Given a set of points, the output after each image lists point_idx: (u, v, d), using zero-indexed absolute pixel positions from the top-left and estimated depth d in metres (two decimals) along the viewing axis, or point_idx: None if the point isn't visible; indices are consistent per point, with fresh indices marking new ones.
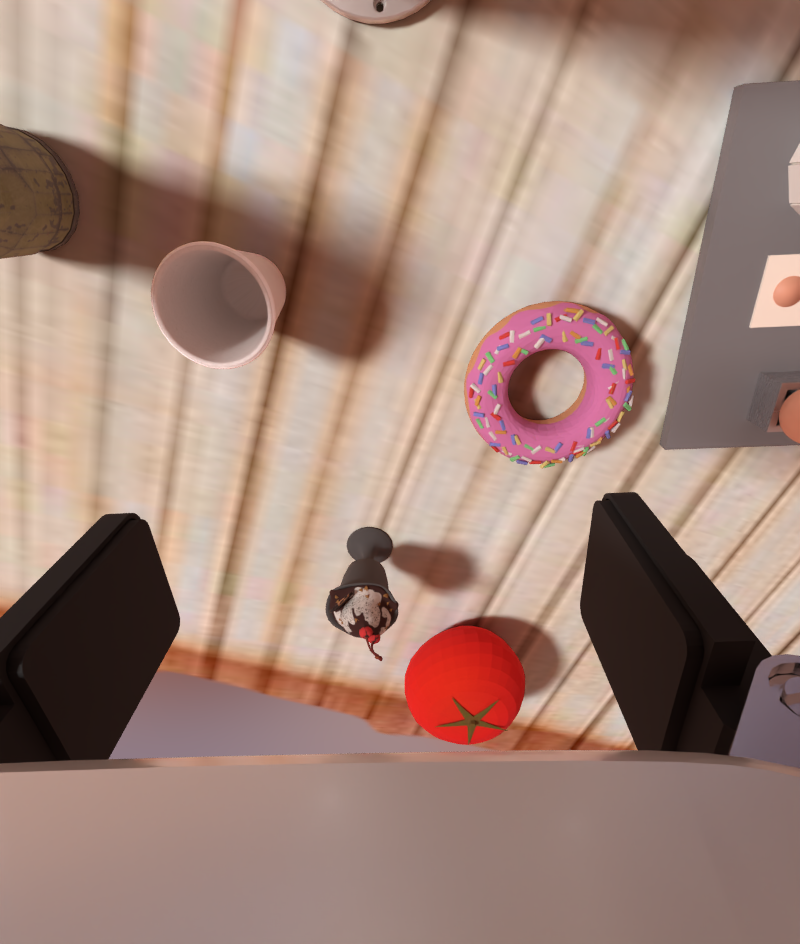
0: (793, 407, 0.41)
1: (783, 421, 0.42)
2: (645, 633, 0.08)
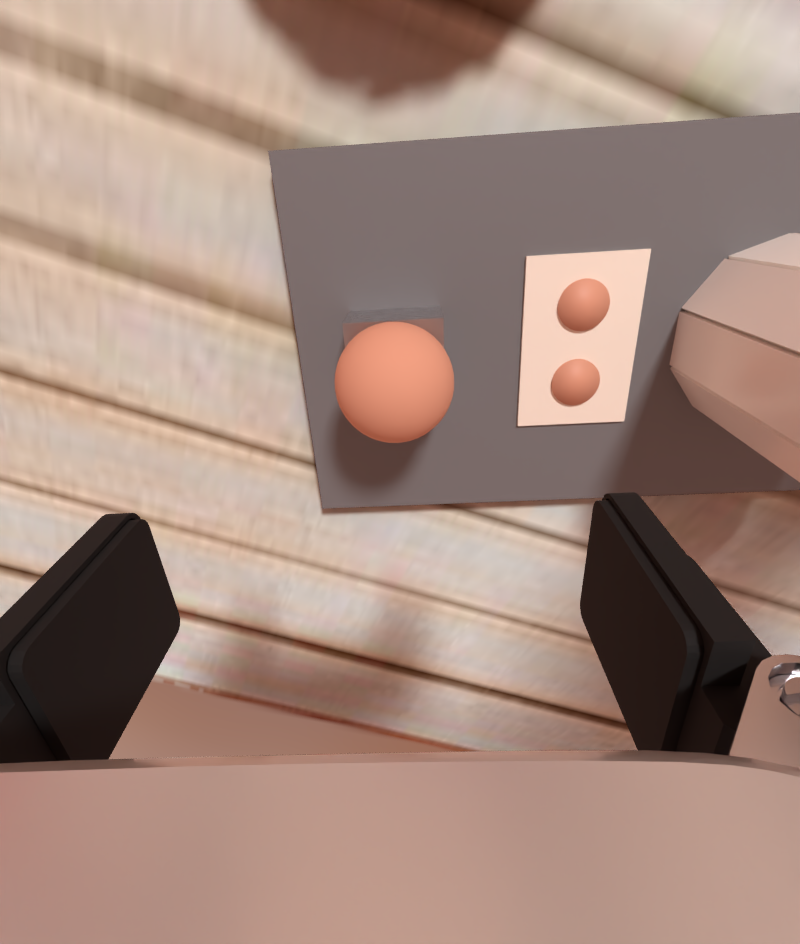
0: (412, 327, 0.20)
1: (378, 324, 0.20)
2: (645, 633, 0.08)
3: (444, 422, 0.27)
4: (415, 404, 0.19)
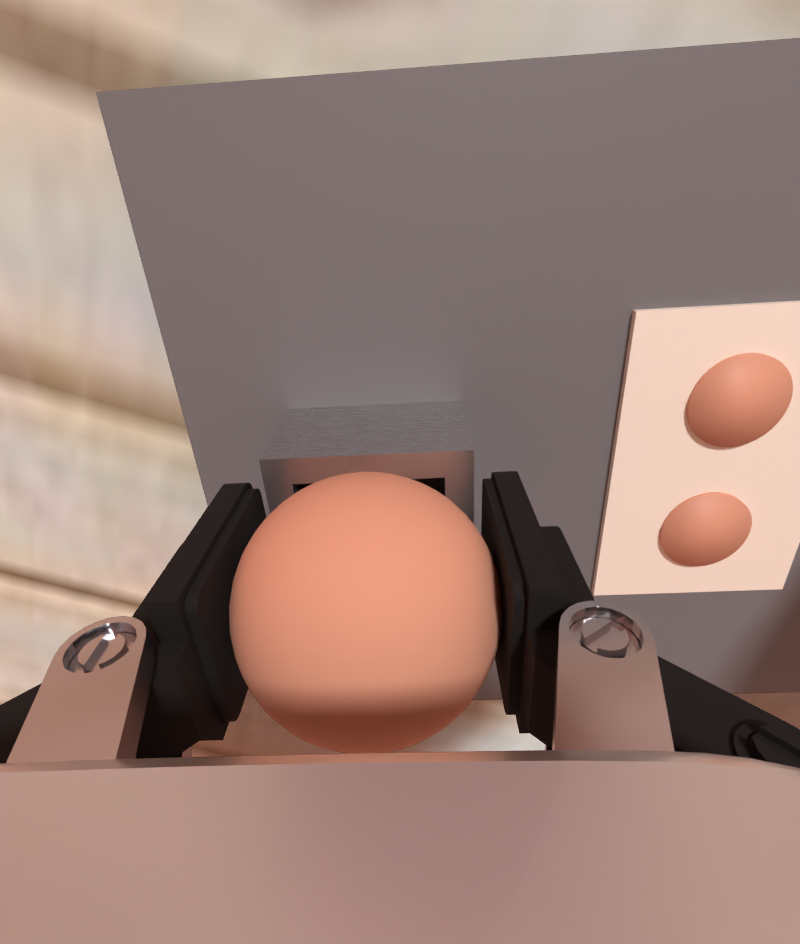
0: (408, 503, 0.08)
1: (328, 488, 0.09)
2: (501, 590, 0.09)
3: None
4: (415, 716, 0.08)
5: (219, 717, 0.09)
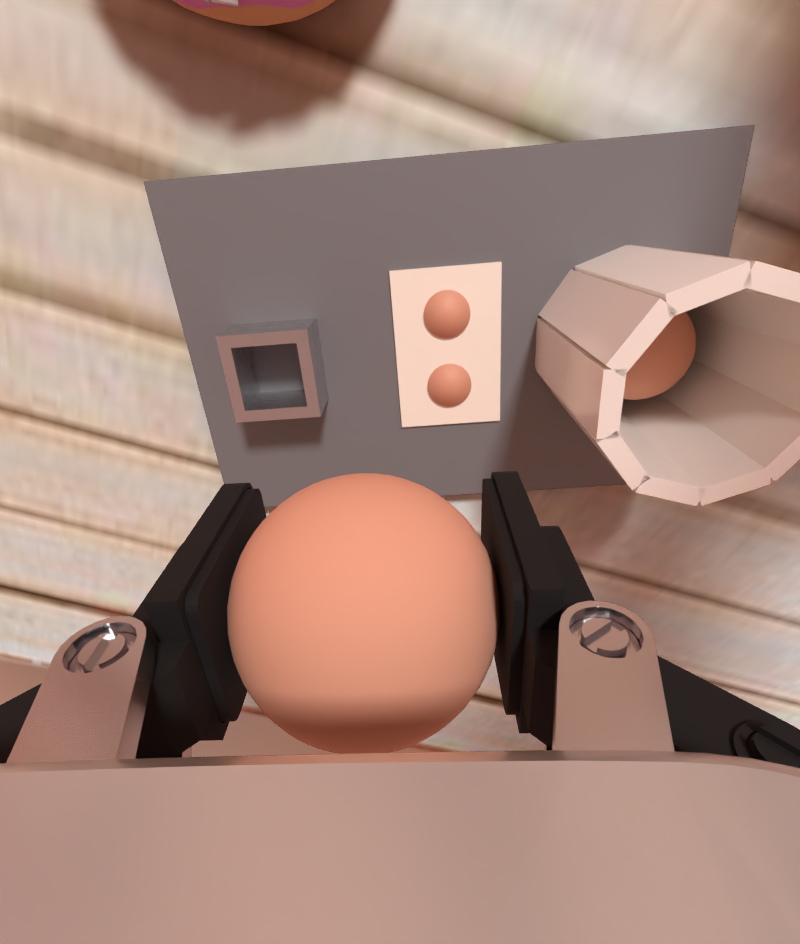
0: (405, 505, 0.08)
1: (326, 490, 0.09)
2: (501, 591, 0.09)
3: (334, 425, 0.29)
4: (412, 717, 0.08)
5: (219, 717, 0.09)
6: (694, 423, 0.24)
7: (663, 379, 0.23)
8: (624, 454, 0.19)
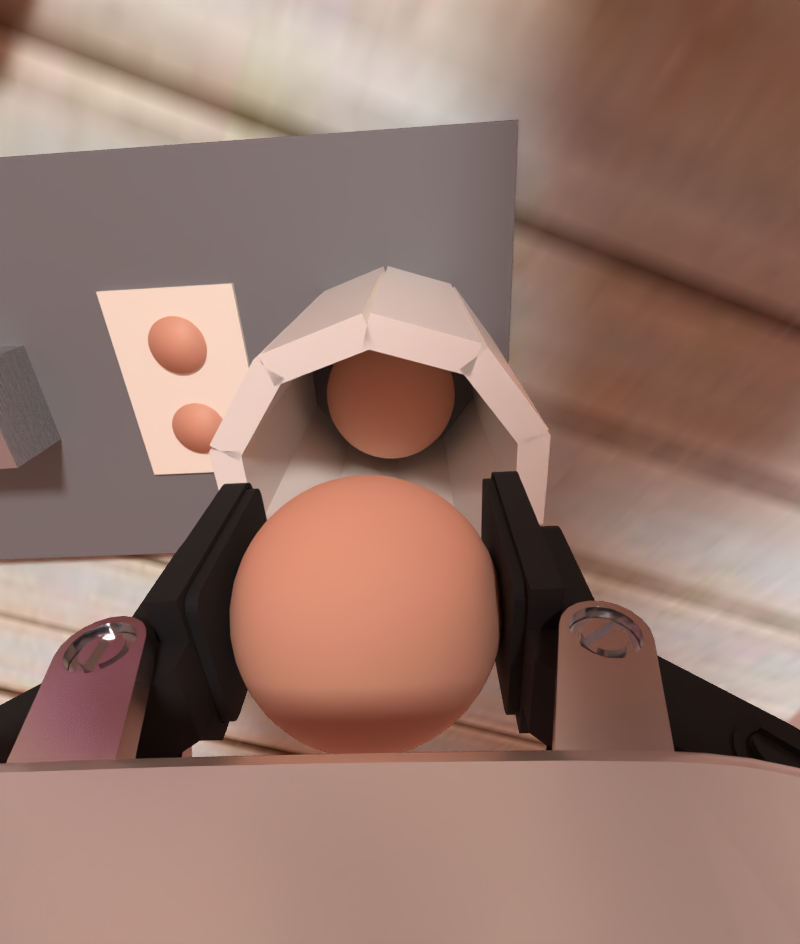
0: (408, 507, 0.08)
1: (328, 492, 0.09)
2: (501, 590, 0.09)
3: (76, 469, 0.25)
4: (415, 719, 0.08)
5: (219, 717, 0.09)
6: (446, 493, 0.19)
7: (402, 439, 0.18)
8: None
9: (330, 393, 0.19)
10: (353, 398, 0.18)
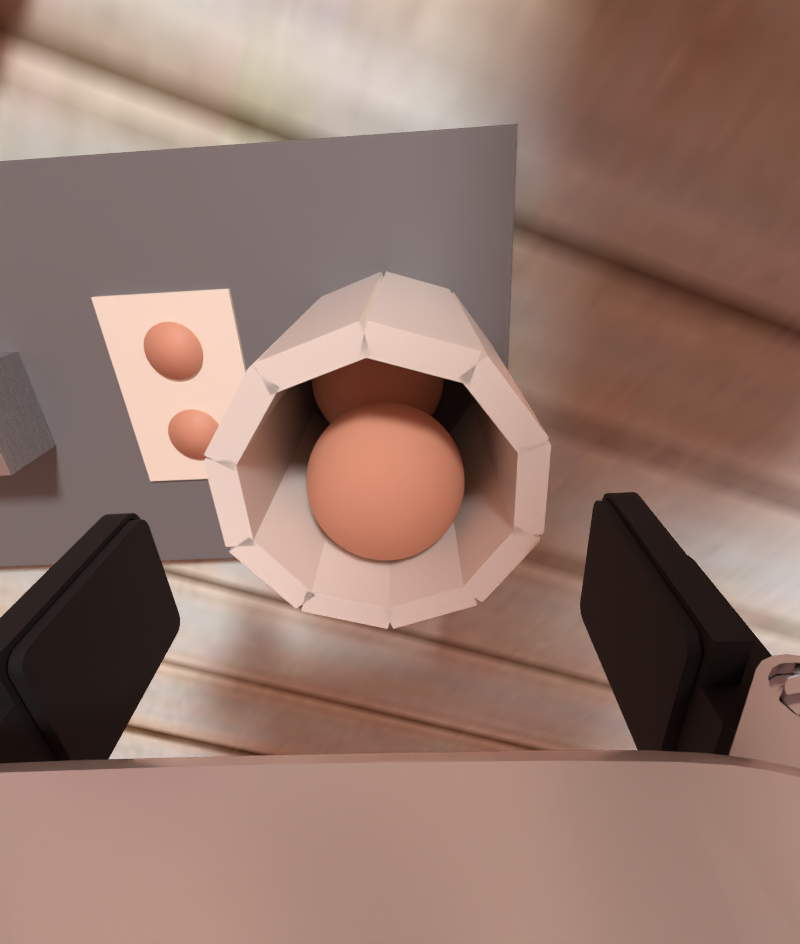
0: (423, 486, 0.14)
1: (371, 486, 0.14)
2: (645, 633, 0.08)
3: (71, 476, 0.24)
4: None
5: None
6: None
7: (376, 400, 0.17)
8: (270, 565, 0.14)
9: None
10: None
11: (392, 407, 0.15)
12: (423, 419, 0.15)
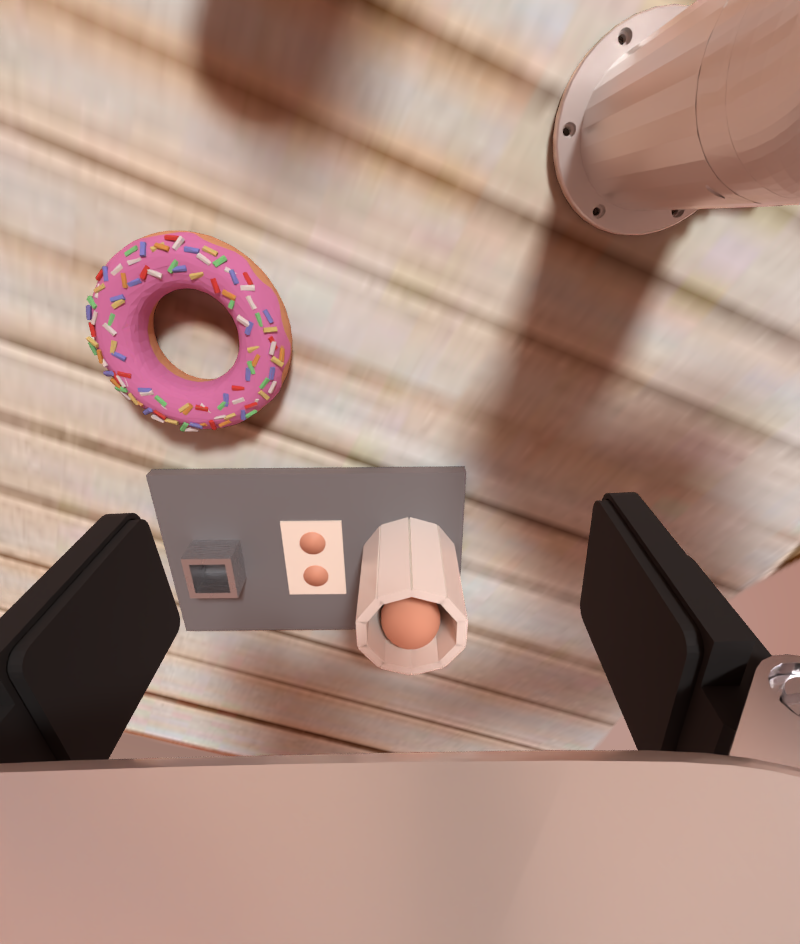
0: (426, 627, 0.40)
1: (408, 627, 0.40)
2: (645, 633, 0.08)
3: (250, 590, 0.50)
4: None
5: None
6: None
7: None
8: (371, 653, 0.40)
9: None
10: None
11: None
12: None
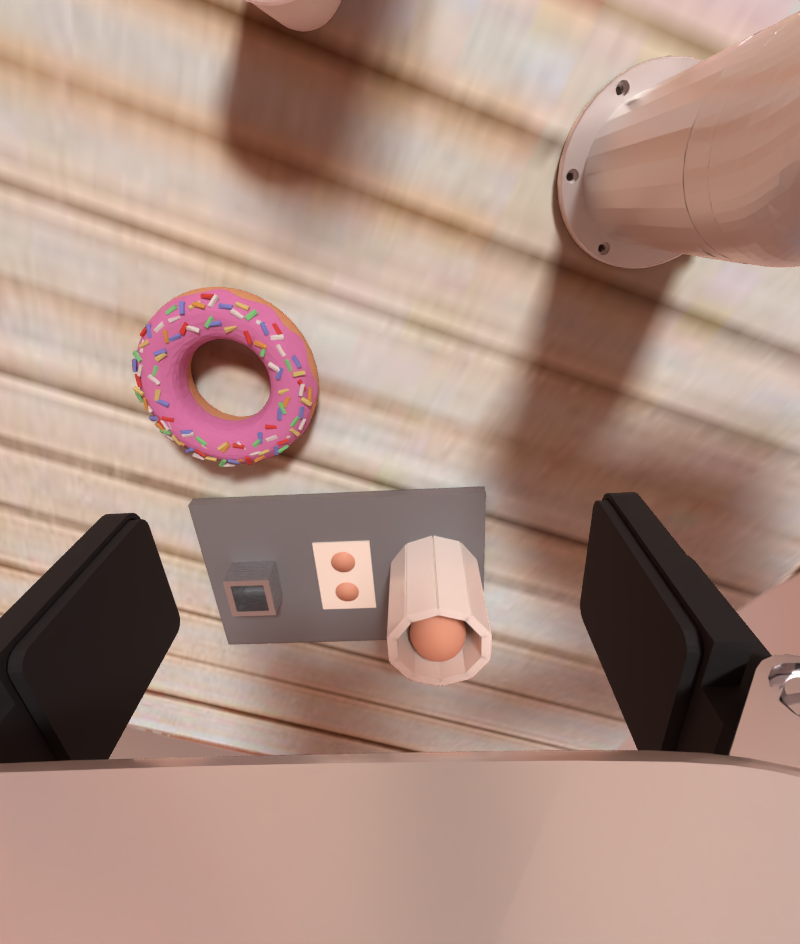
0: (452, 641, 0.43)
1: (436, 642, 0.43)
2: (646, 633, 0.08)
3: (286, 606, 0.53)
4: None
5: None
6: None
7: None
8: (402, 666, 0.43)
9: None
10: None
11: None
12: None
